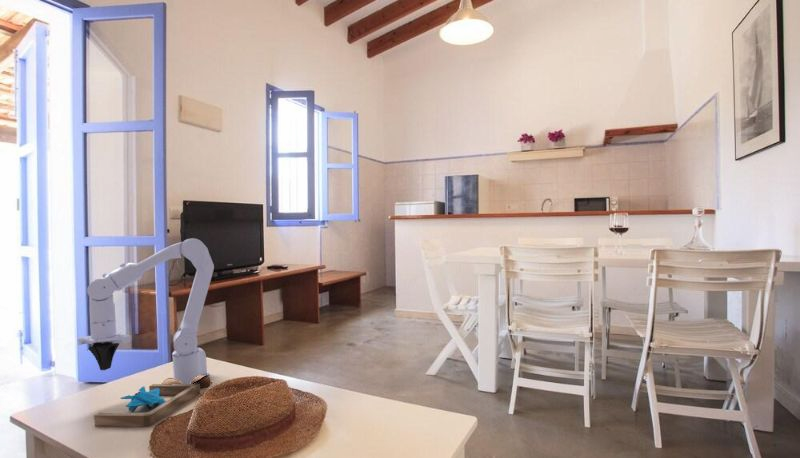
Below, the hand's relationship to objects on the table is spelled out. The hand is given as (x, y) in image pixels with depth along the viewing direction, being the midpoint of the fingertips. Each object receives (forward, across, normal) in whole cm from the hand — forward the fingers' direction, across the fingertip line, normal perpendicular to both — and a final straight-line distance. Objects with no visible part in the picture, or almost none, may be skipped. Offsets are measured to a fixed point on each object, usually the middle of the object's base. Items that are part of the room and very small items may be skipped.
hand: (105, 369), depth 111 cm
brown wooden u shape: (+8, +18, -6) cm, 20 cm away
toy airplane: (+9, +17, -6) cm, 20 cm away
